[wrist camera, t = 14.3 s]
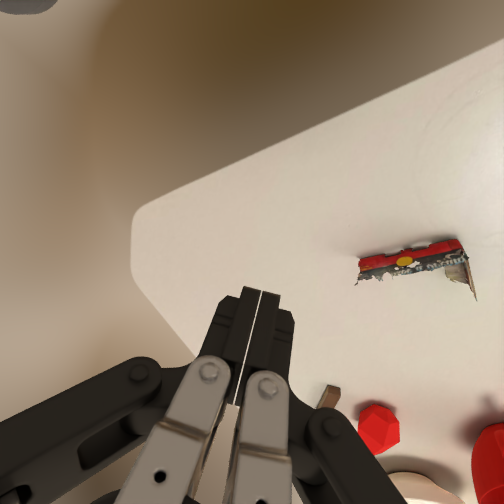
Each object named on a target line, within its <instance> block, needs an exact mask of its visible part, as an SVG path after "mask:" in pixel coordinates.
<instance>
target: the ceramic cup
mask: <svg viewBox="0 0 504 504" xmlns="http://www.w3.org/2000/svg"><path fill="white" fill-rule="evenodd" d="M471 468H472V477H473V483H474V488H475V492H476V496H477V500H478V503H479V504H504V423H498V424H493V425H490V426H488V427H486V428H485V429H484V430H483V431H482V432H481V435H480V436H479V438H478V439H477V441H476V443H475V445H474V448H473V451H472V459H471Z"/></svg>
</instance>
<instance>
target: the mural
mask: <svg viewBox="0 0 504 504" xmlns="http://www.w3.org/2000/svg"><path fill="white" fill-rule="evenodd" d="M412 249H413V248H410V249H406V250H404V251H403V250H401V251H400V252H401V254H399V255H396V256H390V257H386V258H385V254H382V255H377V256H373V257H367V258H363V259H360V261H359V264H358V265H359V266H360V273H359V277H358V280H363V279H365V280H368V279H371V278H372V275H374V276H375V277H376V279H378V280H379V281H380V280H382V281H383V279H382V276H383V274H384V273H386V272H389V273H390V274H391V275H392V278H393V275H395V276H396V275H397V276H398V274H401V275H406V274H412V273H416V272H419V271H424V270H425V269H427V271H429V270H431V271H432V270H434V269H435V268H440V267H442V266H445V269H446V277H447V278H450V280H451V281H453V280H456V281H459V282H462V283H465V284H468V285H469V286H470V289H471V291H472V292H473V295H474V296H475V298H476V293H475V288H474V284H473V280H472V276H471V271H470V267H469V262H468V258H469V257H467V254H466V253H465V251H464V249H463V247H462V245H461V244H460V242H459V241H458V240H457V239H452V240H448V241H444V242H438V243H434V244H430V245H429V248H427V249H422V250H418V251H412ZM463 253H464V255H463ZM415 261H417V262H420V263H419V264H420V265H416V266H415V267H414V268H410V267H406V266H408V265H410V264H412V263H414V262H415ZM437 261H438V262H437ZM421 263H422V264H421ZM359 266H358V267H359ZM395 267H398V268H399V270H395V269H394V268H395ZM400 267H403V268H400ZM360 274H362V275H360ZM464 278H466V279H467V280H466V279H464ZM453 282H455V281H453ZM456 283H457V282H456ZM357 284H358V281H357V283H356V284H355V285H357ZM355 285H354V286H355ZM476 301H477V299H476Z"/></svg>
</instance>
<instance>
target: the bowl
mask: <svg viewBox="0 0 504 504" xmlns="http://www.w3.org/2000/svg"><path fill="white" fill-rule="evenodd" d="M388 476H389V478H390V479H391V481H392V482H393V484H394V485H395V486H396V488H397V489H398V491H399V492H400V493H401V495H402V496H403V498H404V499H405V500H406V502H407V503H408V504H465V502H463V501H462V500H461V499H460V498H459V497H457V496H455V495H453V494H452V493H450V492H447V491H446V490H444V489H442V488H441V487H439V486H437V485H435V484H434V482H433V481H431V480H430V479H429V478H427V477H425V476H422V475H419V474H416V473H409V472H399V473H393V474H389V475H388Z"/></svg>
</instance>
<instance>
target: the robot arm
mask: <svg viewBox="0 0 504 504" xmlns="http://www.w3.org/2000/svg"><path fill="white" fill-rule="evenodd" d="M260 293H261V290H258V289H254V288H250V287H246V286H243V289H242V292H241V295H240V298H236V297H232V296H228V295H227V296H226V297H225V298H224V299H223V300H221V301H220V302H219V304H218V306H217V309H216V311H215V315H214V317H213V319H212V322H211V324H210V327H209V329H208V332H207V335H206V337H205V340H204V342H203V345H202V348H201V350H200V353H199V355H198V356H197V358H196V359H195V360H194V361H193V362H191V363H190V364H188V365H185V366H182V367H177V368H161V367H160V365H159V364H158V363H157V362H156V361H155V360H153V359H152V358H149V357H134V358H131V359H129V360H127V361H125V362H123V363H120V364H119V365H116V366H114V367H112V368H110V369H108V370H106V371H104V372H103V373H100V374H98V375H96V376H94V377H92V378H90V379H88V380H86V381H84V382H82V383H79V384H77V385H75V386H73V387H71V388H69V389H67V390H65V391H63V392H61V393H59V394H57V395H55V396H53V397H51V398H49V399H47V400H45V401H43V402H41V403H39V404H37V405H34V406H32V407H30V408H28V409H26V410H24V411H22V412H20V413H18V414H16V415H14V416H12V417H10V418H8V419H6V420H4V421H2V422H0V504H50V503H52V502H53V501H55V500H56V499H58V498H59V497H61V496H62V495H64V494H65V493H67V492H68V491H70V490H72V489H73V488H74V487H76V486H78V485H79V484H81V483H82V482H84V481H85V480H87V479H88V478H90V477H91V476H93V475H94V474H96V473H97V472H99V471H101V470H102V469H103V468H105V467H107V466H108V465H109V464H111V463H113V462H114V461H116V460H117V459H119V458H120V457H122V456H123V455H125V454H127V453H128V452H130V451H131V450H133V449H134V448H135V447H137V446H139V445H140V444H142V443H143V442H145V441H146V442H145V444H144V446H143V448H142V450H141V452H140V454H139V456H138V458H137V460H136V462H135V464H134V465H133V467H132V469H131V471H130V473H129V475H128V477H127V479H126V481H125V483H124V485H123V487H122V488H121V489H119V490H116V491H113V492H110V493H108V494H106V495H103V496H102V497H100V498H98V499H97V500H95V501H93V502H92V503H91V504H200V503H198V502H197V501H195V500H194V498H195V495H196V492H197V488H198V485H199V482H200V479H201V476H202V473H203V470H204V467H205V464H206V462H207V459H208V456H209V453H210V450H211V447H212V445H213V441H214V439H215V436H216V433H217V430H218V428H219V425H220V422H221V421H222V419H223V416H224V413H225V409H226V405H227V403H228V404H233V401H234V397H235V393H236V389H237V385H238V381H239V377H240V373H241V369H242V365H243V361H244V357H245V353H246V349H247V345H248V341H249V337H250V333H251V329H252V325H253V321H254V317H255V313H256V309H257V305H258V301H259V297H260ZM280 296H281V295H278V294H274V293H270V292H266V291H263V292H262V296H261V300H260V304H259V308H258V312H257V316H256V320H255V324H254V328H253V332H252V336H251V340H250V344H249V348H248V352H247V356H246V360H245V364H244V368H243V372H242V376H241V380H240V384H239V388H238V392H237V397H236V401H235V405H236V406H239V407H240V408H239V413H238V417H237V421H236V425H235V429H234V436H233V441H232V448H231V454H230V461H229V468H228V474H227V480H226V486H225V493H224V496H223V501H222V504H291V502H292V499H291V498H292V496H291V495H292V483H293V485H294V487H295V488H296V491H297V492H298V494H299V496H300V498H301V500H302V502H303V504H408V503H407V502H406V500H405V499H404V498H403V496H402V495H401V493H400V492H399V491H398V489H397V488H396V486H395V485H394V484H393V482H392V481H391V479H390V478H389V476H388V475H387V474H386V472H385V471H384V469H383V468H382V467H381V465H380V464H379V462H378V461H377V460H376V458H375V457H374V455H373V454H372V452H371V451H370V450H369V448H368V447H367V445H366V444H365V443H364V441H363V440H362V438H361V437H360V436H359V434H358V433H357V431H356V430H355V429H354V427H353V426H352V424H351V423H350V421H349V420H348V419H347V418H346V417H345V416H344V415H343V414H342V413H341V412H339V411H338V410H336V409H333V408H330V407H321V408H318V409H316V410H315V409H313V408H312V407H310V406H308V405H307V404H305V403H304V402H302V401H301V400H299V399H298V398H297V397H296V396H295V394H294V393H293V392H292V390H291V388H290V385H289V381H288V375H289V367H290V358H291V350H292V341H293V333H294V325H295V322H294V319H293V317H292V314H291V312H290V311H287V310H283V309H279V302H280Z"/></svg>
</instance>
